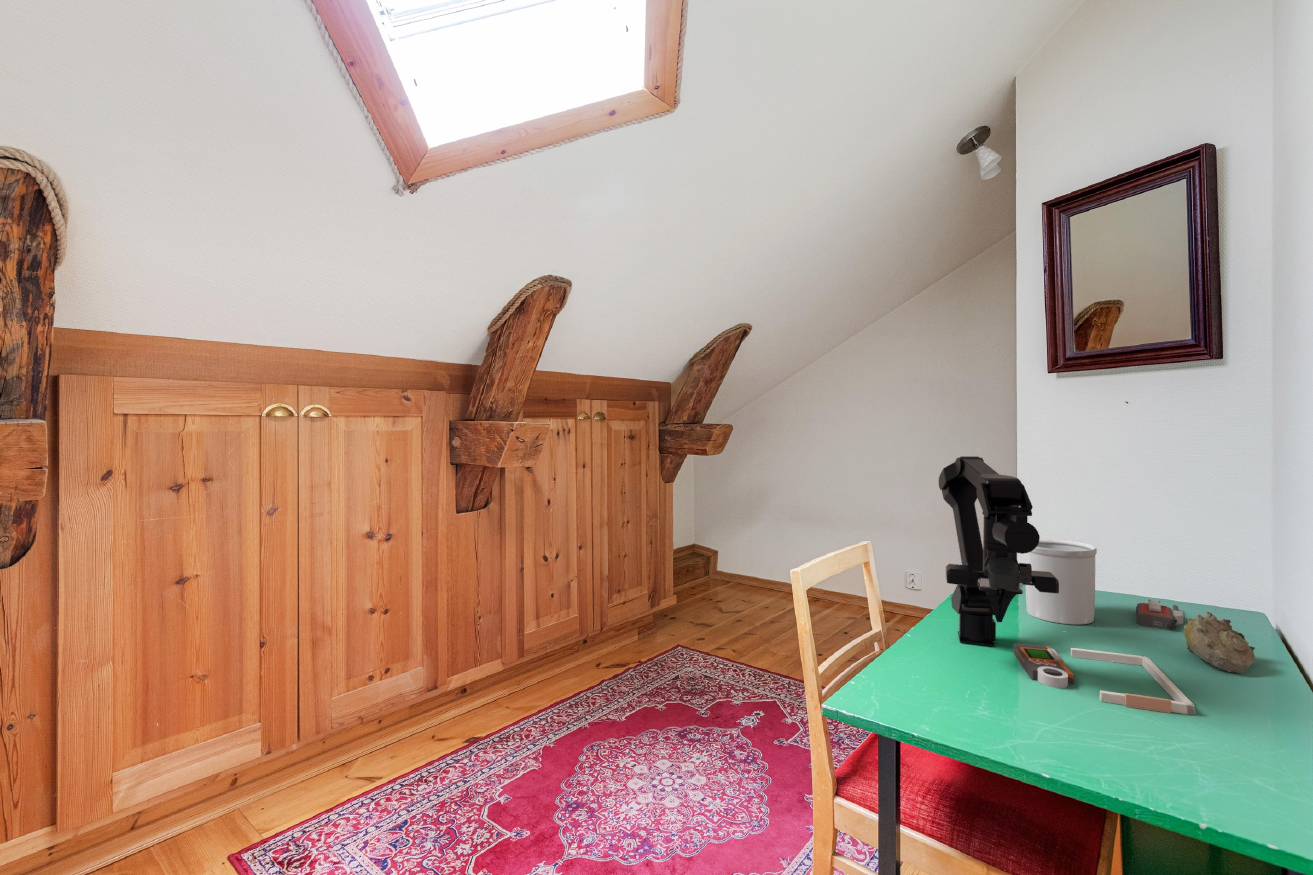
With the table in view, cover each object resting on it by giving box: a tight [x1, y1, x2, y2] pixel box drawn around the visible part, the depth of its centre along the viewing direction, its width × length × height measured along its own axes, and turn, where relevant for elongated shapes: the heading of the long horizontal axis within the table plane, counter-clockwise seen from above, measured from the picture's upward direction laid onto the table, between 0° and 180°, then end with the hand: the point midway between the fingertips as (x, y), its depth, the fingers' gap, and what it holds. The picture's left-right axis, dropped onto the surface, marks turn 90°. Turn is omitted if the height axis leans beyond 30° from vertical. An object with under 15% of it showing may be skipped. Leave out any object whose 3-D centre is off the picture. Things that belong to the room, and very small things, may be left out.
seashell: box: [1183, 611, 1256, 674], centre depth 118 cm, size 11×14×10 cm
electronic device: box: [1013, 643, 1075, 689], centre depth 115 cm, size 7×3×15 cm
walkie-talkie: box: [1135, 599, 1184, 631], centre depth 145 cm, size 9×4×20 cm
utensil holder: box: [1024, 538, 1098, 625], centre depth 147 cm, size 15×15×18 cm
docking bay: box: [1070, 647, 1196, 716], centre depth 110 cm, size 12×23×2 cm, turn 157°
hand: (998, 621), depth 118 cm, fingers closed
